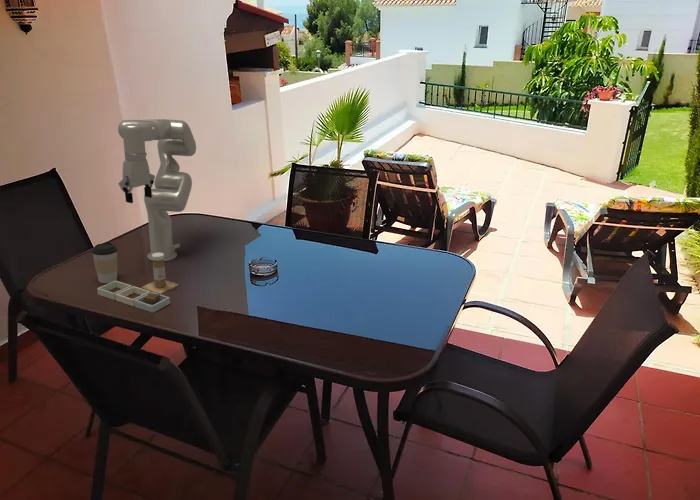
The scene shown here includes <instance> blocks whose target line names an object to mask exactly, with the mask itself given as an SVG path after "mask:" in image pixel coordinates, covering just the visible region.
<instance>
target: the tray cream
mask: <svg viewBox="0 0 700 500" xmlns="http://www.w3.org/2000/svg"><path fill="white" fill-rule="evenodd" d="M149 293H151V292H150V291H148V290H144V289H141V287H137V286H134V285H132V287H131V288H128V289H126V290H124V291H122V292H120V293H117V294H116V301H115V302H120V303H122V304H125V305H128V306H131V307H135V300H137V299H139V298H141V297H143V296H145V295H147V294H149ZM133 294H136V295H139V296H136V297H134V298H130V297H129V296H131V295H133Z"/></svg>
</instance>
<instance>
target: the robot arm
mask: <svg viewBox="0 0 700 500" xmlns="http://www.w3.org/2000/svg"><path fill="white" fill-rule="evenodd" d="M117 132H118V135H119V136H120V137H121V139H123V148H124V149H123V150H124V161H123V163H122V179H121V180H120V181H119V182H118V186H119V188H120V190H122V192H123V193H124V194H125V195H124V197H125V202H126V203H129V204H133V203H134V199H133V197H134V196H133V193H132V191H133V189H134V188H138V187H142V186H144V187H143V190H144V197H143V200H144V205H145V209H146V213H147V223H148V234H149V244H150V245H149V246H150V248H149V249H150V252H148V253H147V255H146V256H147V259H148V260H150V261H152V254H154V253H163V254H164V262H169V261H172V260H174V259H175V258H177V257H178V253H177V251H176V249H179V248H181V244H180V243H176V244H173V230H172V219H171V216H170V214H169V212H174V213H175V212H176V213H180V212H183V211H184V210H185V208H186V206H187V203H188V201H189V197H190V194H191V191H192V186H193V181H192V177H191V175H190V174H189V173H187V172H185V171H184V172H183V171H180V169H181V168H180V164H179V163H178V162H177V160H176V159H175V158H174V157H173V156H178V157H179V156H180V157H192V156H194V155H195V154H196V152H197V144H196V140H195V138H194V134H193V133H192V132H193V131H192V129H191V128H190V126H189V124H188V123H187V121H184V120H181V119H180V120H179V119H178V120H177V119H165V118H162V119H161V118H160V119H157V118H156V119H155V118H154V119H123V120H121V121H120V122H119V124H118V126H117ZM151 141H157V151H158V152H157V153H158V158H159V162H160V164H159V167H158V170H157V172H156V175H155V174H152V173H150V167H149V162H148V159H147V155H148V154H147V152H146V142H151ZM153 185H154V188H153ZM152 262H153V261H152Z"/></svg>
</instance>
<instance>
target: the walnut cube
mask: <svg viewBox="0 0 700 500" xmlns="http://www.w3.org/2000/svg"><path fill="white" fill-rule="evenodd" d="M158 302H160V294H154V293H149V294H148V295H147V296H145V297H144V303H146V304H149V305H154V304H156V303H158Z"/></svg>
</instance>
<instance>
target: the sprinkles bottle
mask: <svg viewBox="0 0 700 500" xmlns="http://www.w3.org/2000/svg"><path fill="white" fill-rule="evenodd" d="M152 272H153V281H154V286H155V287H164V286H166V281H167V280H166V267H165V261H164V254H163V253H154V254H152Z"/></svg>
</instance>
